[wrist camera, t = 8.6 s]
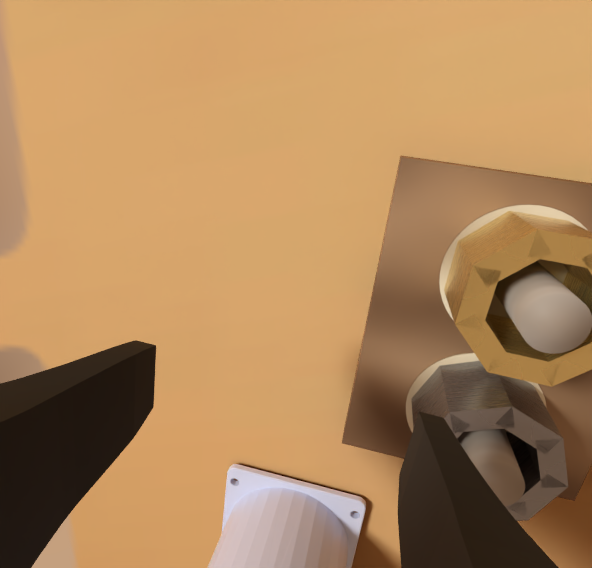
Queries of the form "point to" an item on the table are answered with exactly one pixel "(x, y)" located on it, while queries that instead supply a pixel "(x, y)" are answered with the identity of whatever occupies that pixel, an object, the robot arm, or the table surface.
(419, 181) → the board
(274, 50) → the table surface
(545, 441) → the gear
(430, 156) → the table surface
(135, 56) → the table surface
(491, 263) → the gear
